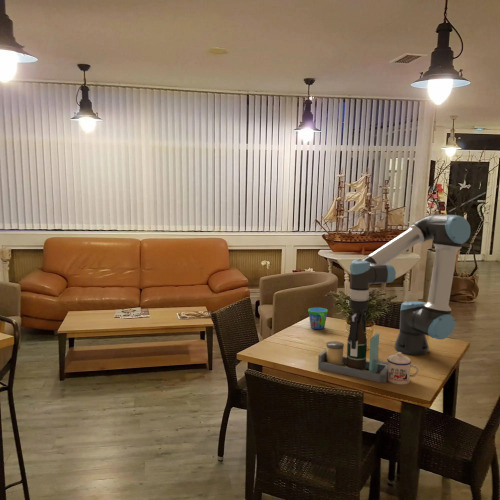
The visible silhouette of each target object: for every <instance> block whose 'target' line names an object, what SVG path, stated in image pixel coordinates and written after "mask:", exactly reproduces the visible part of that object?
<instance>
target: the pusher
mask: <svg viewBox="0 0 500 500" xmlns="http://www.w3.org/2000/svg"><path fill="white" fill-rule="evenodd" d="M379 342H380V333H379V332H377V333H375V334H374V335H373V336H372V337H371V338H370V339H369V360H368V361H369V369H368V371H369V372H373V373H377V372H379V371H378V363H380V364H385V365H387V364H388V361H385V360H380V359H379V345H380V343H379Z"/></svg>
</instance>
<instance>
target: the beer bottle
mask: <svg viewBox="0 0 500 500" xmlns="http://www.w3.org/2000/svg"><path fill="white" fill-rule="evenodd" d="M360 314H363V312H362V311H361V312H360ZM365 333H366V332H365ZM365 333H364V331H363V327H362V319H361V324H360V325H359V331H358V337H357V341H358V352H357V357H355V356H350V350H351V340H349V335H348V336H347V344H346V345H347V346H346V347H347V350H346V357H347V364H346V367H350V368H354V369H359V370H364V369H366V368H365V367H366V361H367V352H368V351H367V349H368V348H367V347H368V339H367V333H366V334H365Z"/></svg>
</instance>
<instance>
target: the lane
mask: <svg viewBox="0 0 500 500" xmlns="http://www.w3.org/2000/svg"><path fill="white" fill-rule="evenodd" d="M326 353H327V348H326V349H324V350H323V351H322V352H320V353H319V354H318V359H317V362H318V364H317V368H318V370H322V371H327V372H330V373H331V372H332V373H335V374H342V375H345V376H350V377H353V378H354V377H355V378H359V379H364V380H368V381H373V382H377V383H380V384H381V383H382V384H386V383H387V381H388V380H387V379H388V370H387V365H385V364H380V363H378V371H377V372H379V373H377V372H376V373H373V372H369V360H366V367H365V368H364V369H367V370H368V371H367V370H364V369H363V370H359V369H354V368H350V367H348V366H344V365H347V356H345V355H343V366H340V365H335V364H331V363H326Z"/></svg>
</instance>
